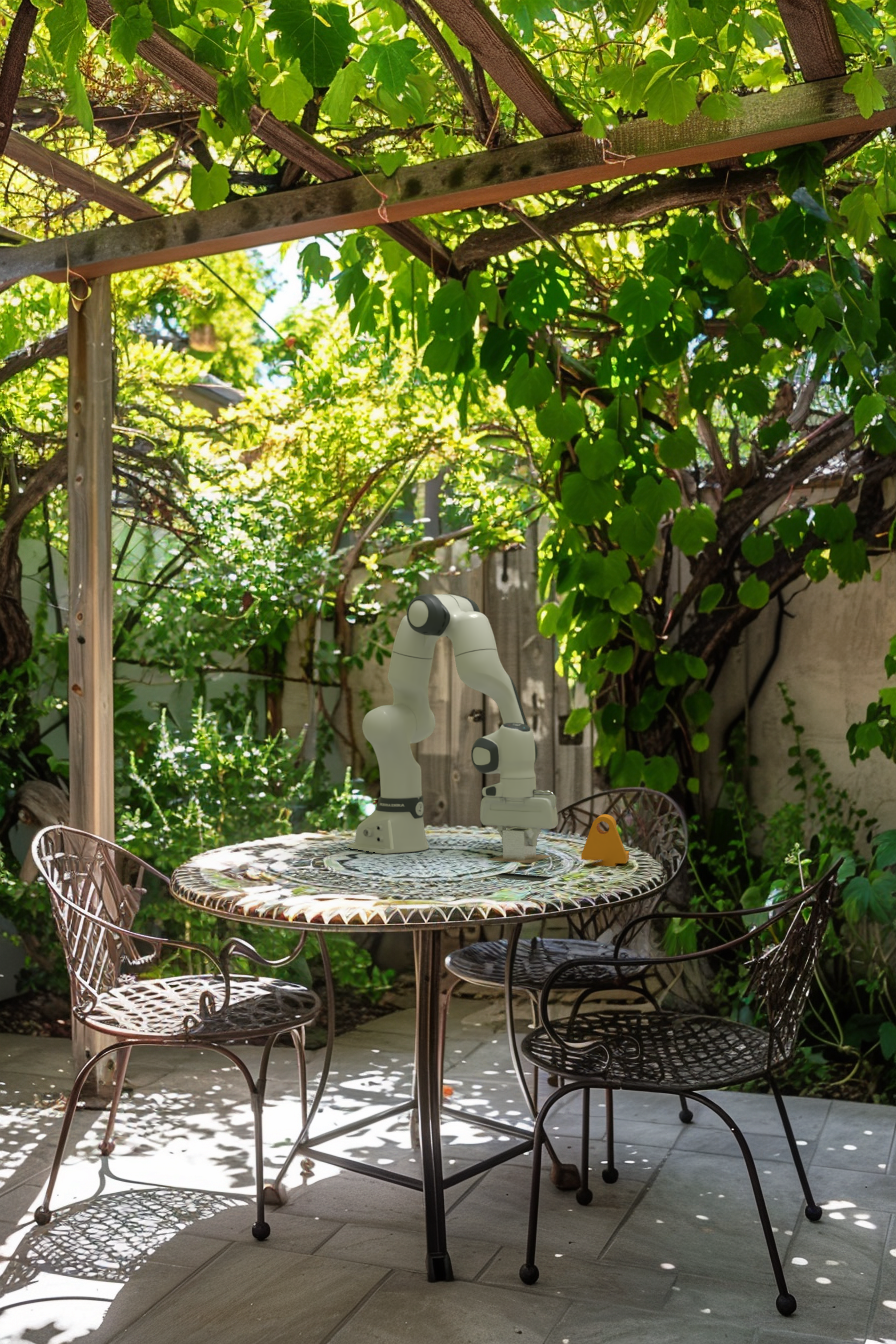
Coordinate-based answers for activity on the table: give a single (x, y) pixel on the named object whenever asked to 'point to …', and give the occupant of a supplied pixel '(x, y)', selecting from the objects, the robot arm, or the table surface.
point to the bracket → (604, 844)
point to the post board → (538, 857)
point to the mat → (523, 877)
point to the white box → (518, 844)
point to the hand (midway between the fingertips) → (519, 845)
